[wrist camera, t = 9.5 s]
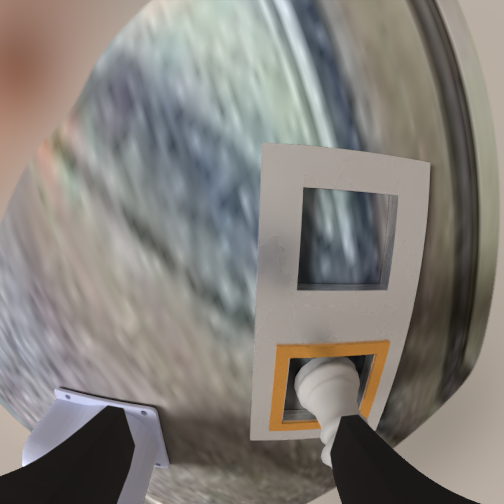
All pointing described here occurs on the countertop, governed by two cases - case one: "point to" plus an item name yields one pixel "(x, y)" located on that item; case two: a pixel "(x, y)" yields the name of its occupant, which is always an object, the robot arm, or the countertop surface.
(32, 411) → the countertop surface
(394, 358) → the rail plate
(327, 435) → the rook chess piece
